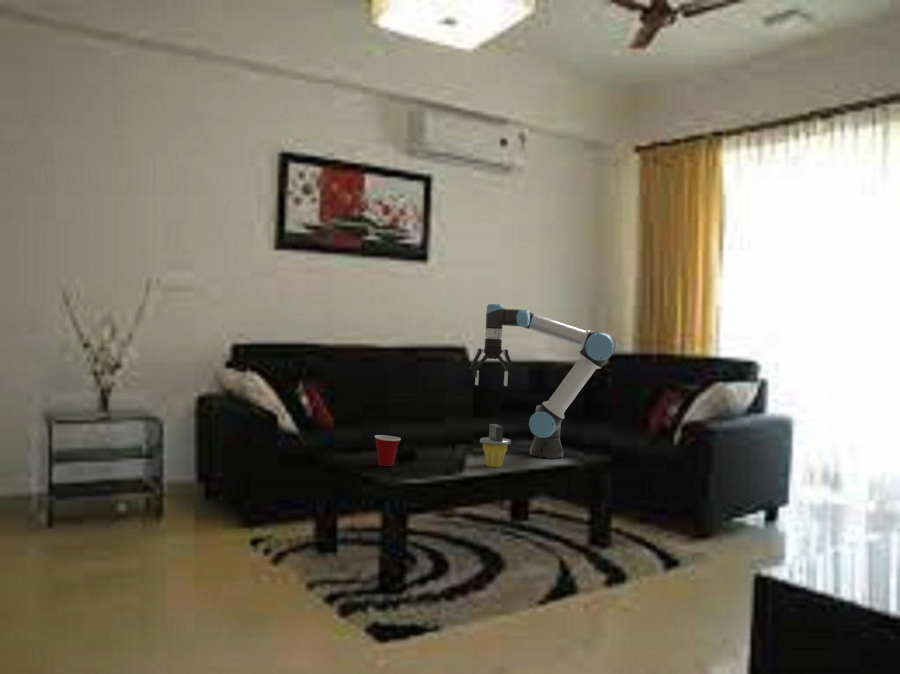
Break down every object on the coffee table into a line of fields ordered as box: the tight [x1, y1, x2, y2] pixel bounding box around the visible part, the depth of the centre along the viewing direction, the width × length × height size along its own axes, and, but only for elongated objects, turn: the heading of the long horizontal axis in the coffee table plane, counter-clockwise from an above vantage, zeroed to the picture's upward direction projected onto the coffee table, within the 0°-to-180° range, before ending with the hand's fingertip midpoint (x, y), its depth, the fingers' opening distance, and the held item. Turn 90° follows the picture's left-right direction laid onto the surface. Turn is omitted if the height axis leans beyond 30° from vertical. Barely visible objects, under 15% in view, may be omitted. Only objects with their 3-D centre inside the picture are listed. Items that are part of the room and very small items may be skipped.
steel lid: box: [479, 423, 512, 446], centre depth 338 cm, size 13×13×7 cm
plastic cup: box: [374, 434, 402, 467], centre depth 326 cm, size 11×11×12 cm
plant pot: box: [482, 443, 509, 468], centre depth 338 cm, size 10×10×10 cm
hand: (491, 385), depth 361 cm, fingers open, 13 cm apart
